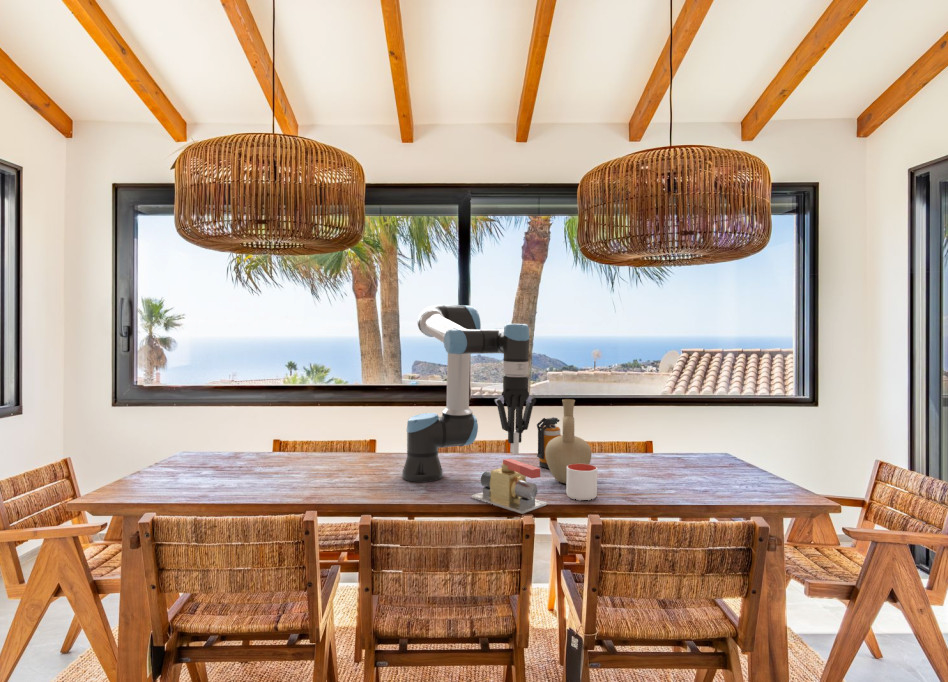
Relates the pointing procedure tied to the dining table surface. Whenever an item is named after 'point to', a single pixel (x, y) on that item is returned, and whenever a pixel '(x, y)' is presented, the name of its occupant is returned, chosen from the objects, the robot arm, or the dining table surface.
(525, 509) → the valve
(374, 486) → the dining table surface
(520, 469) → the lever
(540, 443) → the canister
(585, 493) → the cup
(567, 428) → the vase
